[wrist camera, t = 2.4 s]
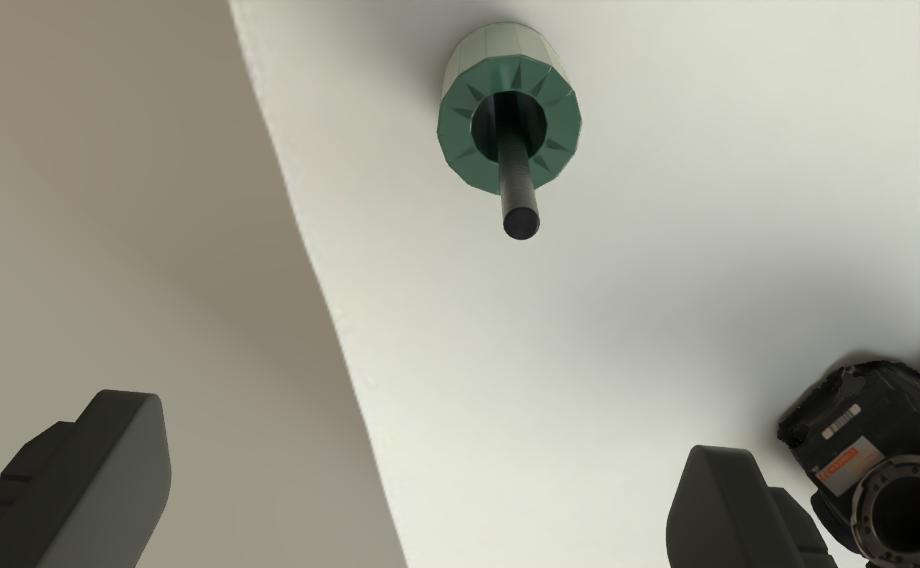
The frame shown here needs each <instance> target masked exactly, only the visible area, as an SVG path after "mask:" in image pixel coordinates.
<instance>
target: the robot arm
mask: <svg viewBox="0 0 920 568" xmlns="http://www.w3.org/2000/svg"><path fill="white" fill-rule="evenodd" d="M170 486H171V464H170V457H169V450H168V443H167V436H166V430H165V423H164V416H163V409H162V403H161V400H160V398H159V397H158V395H156V394H151V393H140V392H129V391H118V390H102V391H100V392H99V393H97V394H96V396H95V397H94V398H93V399H92V401H91V402H90V403H89V405H88V406H87V407H86V409H85V410H84V411H83V413H82V414H81V415H80V416H79V418H78V419H77V420H76V422H75V423H74V422H63V421H58V422H57V423H56V424H54V425H53V426H51V427H50V428H48V429H47V430H45V431H44V432H42V433H41V434H40V435H38V436H36V437H35V438H33V439H32V440H31V441H29V442H28V443H26V444H25V445H24V446H23V447H22V448H21V449H20V450H19V452H18V453H17V454H16V455H15V457H14V458H13V459H12V460H11V461H10V463H9V464H8V465H7V466H6V468H5V469H4V470H3V471H2V472H1V476H0V568H135V566H136V564H137V562H138V560H139V558H140V556H141V554H142V552H143V550H144V549H145V547H146V545H147V543H148V541H149V539H150V537H151V535H152V533H153V531H154V529H155V527H156V525H157V523H158V521H159V519H160V517H161V515H162V513H163V511H164V508H165V506H166V503H167V500H168V495H169V491H170ZM666 547H667V554H668V559H669V562H670V566H671V568H838V567H837V565H836V563H835V561H834V559H833V557H832V555H828V548H827V546H826V544H825V542H824V540H823V538H822V536H821V534H820V532H819V530H818V528H817V527H816V525H815V523H814V521H813V519H812V517H811V516H810V515H809V514H808V513H807V512H806V511H805V510H804V509H803V508H802V507H801V506H800V505H799V504H798V503H797V502H796V501H795V500H794V499H793V497H792V496H791V495H790V494H789V493H788V492H787V491H786V490H785V489H784V488H778V487H768V486H767V484H766V482H765V480H764V478H763V476H762V474H761V472H760V469H759V467H758V465H757V463H756V461H755V459H754V457H753V455H752V454H751V453H750V452H749V451H748V450H746V449H737V448H726V447H715V446H704V445H696V446H694V447H693V448H692V449H691V451H690V453H689V456H688V459H687V462H686V465H685V468H684V470H683V473H682V476H681V479H680V482H679V485H678V488H677V491H676V494H675V497H674V500H673V503H672V506H671V509H670V512H669V515H668V519H667V526H666Z"/></svg>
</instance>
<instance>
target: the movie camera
mask: <svg viewBox="0 0 920 568" xmlns="http://www.w3.org/2000/svg"><path fill="white" fill-rule="evenodd" d="M912 369H913V368H910V367H908V366H907V365H906V364H904V363H892V362H889V361H884V360H882V361H871V362H867V363H865V364H864V363H862V364H858V365H854V366H851V367H850V366H849V367H845V368H844V367H841V368H839V370H837V371H836V372H833V373H832V374H830V375H829V376H828V377H827V378H826V379H827V381H826V382H823V384H822V386H821V387H820V388H816V389H814V390H813V392H812V393H811V395H809V396H808V397H807V398H806V400H805V401H803V403H802V404H801V405H800V406H799V407H800V408H797V409H796V411H794V412H793V413H792V414H791V415H790V416H789V417H788V418H786V419H785V420H784V421H783V422H782V423H780V424H779V430H778V432H777V433H778V436H777V438H778V439H779V440H781V441H782V442H784V443H786V444H787V445H788V446H789V449H791V452H792V454H793V455H794V457H795V458H796V460H797V461H798V463H799V464H800V465H801V466H802V468H803V469H804V470H805V472H806V474H807V476H808V477H809V478H810V480H811V481H812V482H813V483H814V484H815V485H816V486H817V487H818V491H817V492H816V493H814V494H813V495H812V496H811V505H812V507H813V510H814V512H815V513H816V515H817V517H818V518H819V520H820V521H821V523H822V524H823V526H824V527H825V528H826V529H827V530H828V531H829V533H830V534H831V535H832V536H833V537H834V538H835V539H836V540H837V541H838V542H839V543H840V544H842V545H843V546H844V547H846V548H847V549H848V550H850V551H851V552H853V553H855V554H860V555H862V557H863V558H866V559H868V560H870V561H869V562H868V563H867V564H866V568H920V373H919V372H917V371H916V370H912ZM847 371H848V372H849V373H850V374H852V376H853V377H858V376H865V377H866V383H865V385H864V387H862V389H861V390H860V391H858V392H856V393H854V394H852V395H851V396H850V397H849V398H842V397H841V395H840V387H841V384H842V377H843V375H844V373H845V372H847ZM802 423H804V424H806V425H807V426H808V427H809V433H808V434H807V437H806V438H805V441H800V440H799V439H797V438H796V437H794V434H793V430H794V428H795V427H796V426H797V425H798V424H802Z"/></svg>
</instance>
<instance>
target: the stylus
mask: <svg viewBox="0 0 920 568" xmlns="http://www.w3.org/2000/svg"><path fill="white" fill-rule="evenodd" d="M493 100H494V113H495V125H496V138H497V151H498V164H499V176H500V189H501V202H502V214H503V226H504V230H505V232H506V233H507V234H508V235H509V236H510V237H512V238H514V239H517V240H525V239H528V238H531V237H532V236H533V235H535V234H536V232H537V231H538V229H539V226H540V219H539V214H538V209H537V203H536V198H535V193H534V187H533V182H532V177H531V171H530V166H529V160H528V155H527V150H526V144H525V139H524V134H523V128H522V123H521V118H520V112H519V107H518V102H517V96H516V91H506V92H497V93H495V94H494V95H493Z"/></svg>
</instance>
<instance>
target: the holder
mask: <svg viewBox="0 0 920 568" xmlns="http://www.w3.org/2000/svg"><path fill="white" fill-rule="evenodd" d="M506 91H516V96H517V102H518V107H519V112H520V118H521V123H522V128H523V134H524V139H525V144H526V150H527V155H528V160H529V166H530V171H531V177H532V182H533V187H534V190H535V189H537V188H539V187H540V186H542V185H544V184H546V183H548V182H550V181H551V180H553V179H555V178H556V177H557V176H558V175H559V174H560V173H561V171H562V170H563V169H564V167H565V166H566V165H567V163H568V162H569V161H570V159H571V158H572V157H573V156H574V154H575V152H576V149H577V145H578V140H579V135H580V131H581V126H582V118H581V114H580V110H579V106H578V102H577V98H576V94H575V91H574V89H573V87H572V85H571V83H570V81H569V79H568V76H567V74H566V72H565V70H564V68H563V66H562V64H561V61H560V59H559V57H558V55H557V54H556V52H555V51H554V50H553V48H552V47H551V45H550V44H549V43H548V42H547V40H546V39H544V38H543V37H542V36H541V35H540V34H539V33H537V32H536V31H534V30H533V29H531V28H529V27H527V26H524V25H521V24H517V23H511V22H499V23H493V24H488V25H485V26H483V27H480V28H478V29H476V30H474V31H473V32H471V33H470V34H469V35H467V36H466V37H465V38H464V39H463V40H462V41H461V42H460V43H459V44H458V46H457V47H456V48H455V50H454V52H453V53H452V55H451V57H450V59H449V62H448V63H447V66H446V70H445V77H444V83H443V89H442V95H441V101H440V108H439V117H438V126H437V137H438V140H439V143H440V146H441V148H442V151H443V154H444V157H445V159H446V162H447V163H448V165H449V166H450V167H451V168H452V169H453V170H454V171H455V172H456V173H457V174H458V175H459V176H460V177H461V178H462V179H463V180H464V181H465V182H466V183H467V184H468V185H470V186H472V187H475V188H478V189H481V190H484V191H487V192H490V193H492V194H495V195H501V189H500V176H499V164H498V151H497V138H496V125H495V113H494V100H493V95H494V94H495V93H497V92H506Z"/></svg>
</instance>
